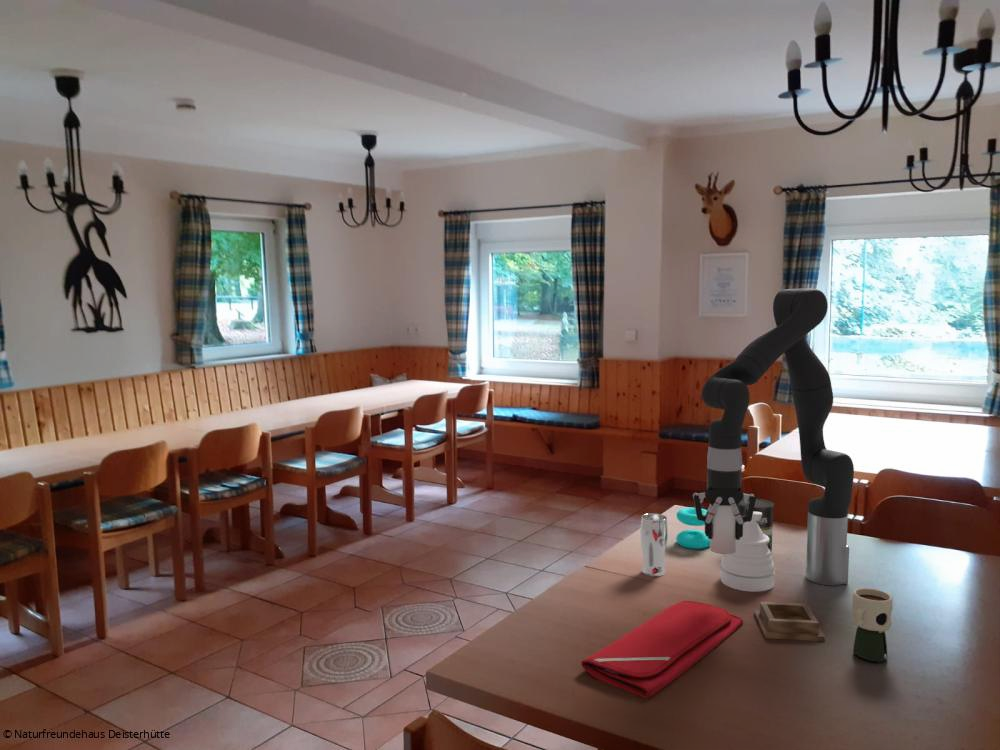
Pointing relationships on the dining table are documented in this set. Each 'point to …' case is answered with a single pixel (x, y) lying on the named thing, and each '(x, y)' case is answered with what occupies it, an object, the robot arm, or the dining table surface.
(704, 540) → the donuts
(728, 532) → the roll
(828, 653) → the dining table surface
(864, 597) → the character mug
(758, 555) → the honey pot
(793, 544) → the dining table surface
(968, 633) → the dining table surface
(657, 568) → the beer glass
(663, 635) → the red folded cloth
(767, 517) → the coffee can
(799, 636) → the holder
